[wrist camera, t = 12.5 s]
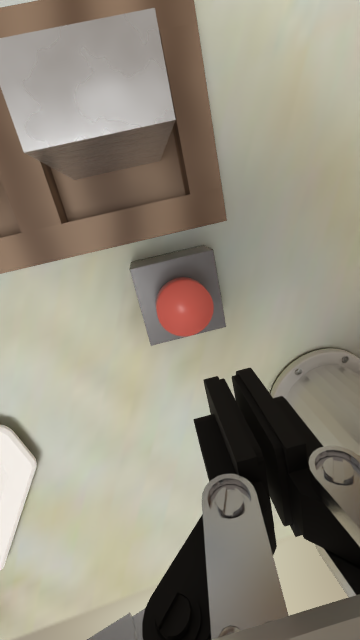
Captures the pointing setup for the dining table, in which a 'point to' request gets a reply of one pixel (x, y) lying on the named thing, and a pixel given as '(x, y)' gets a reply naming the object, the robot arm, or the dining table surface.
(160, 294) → the button
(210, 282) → the button housing
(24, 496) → the plate
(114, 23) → the wooden sorting tray
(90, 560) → the dining table surface
